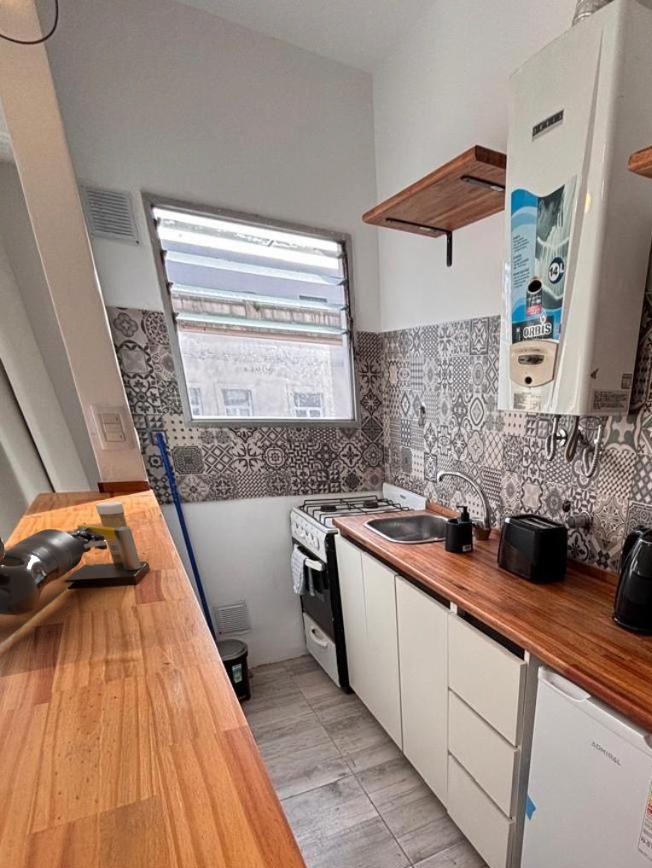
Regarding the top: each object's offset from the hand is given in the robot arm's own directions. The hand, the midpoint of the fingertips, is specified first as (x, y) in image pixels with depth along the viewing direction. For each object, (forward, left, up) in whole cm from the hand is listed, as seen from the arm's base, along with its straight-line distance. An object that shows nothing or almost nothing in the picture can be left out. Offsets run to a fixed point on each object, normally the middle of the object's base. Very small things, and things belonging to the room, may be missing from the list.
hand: (86, 532), depth 102 cm
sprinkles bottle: (+4, +4, -9) cm, 10 cm away
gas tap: (+4, -1, -7) cm, 8 cm away
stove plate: (+3, -4, -8) cm, 10 cm away
